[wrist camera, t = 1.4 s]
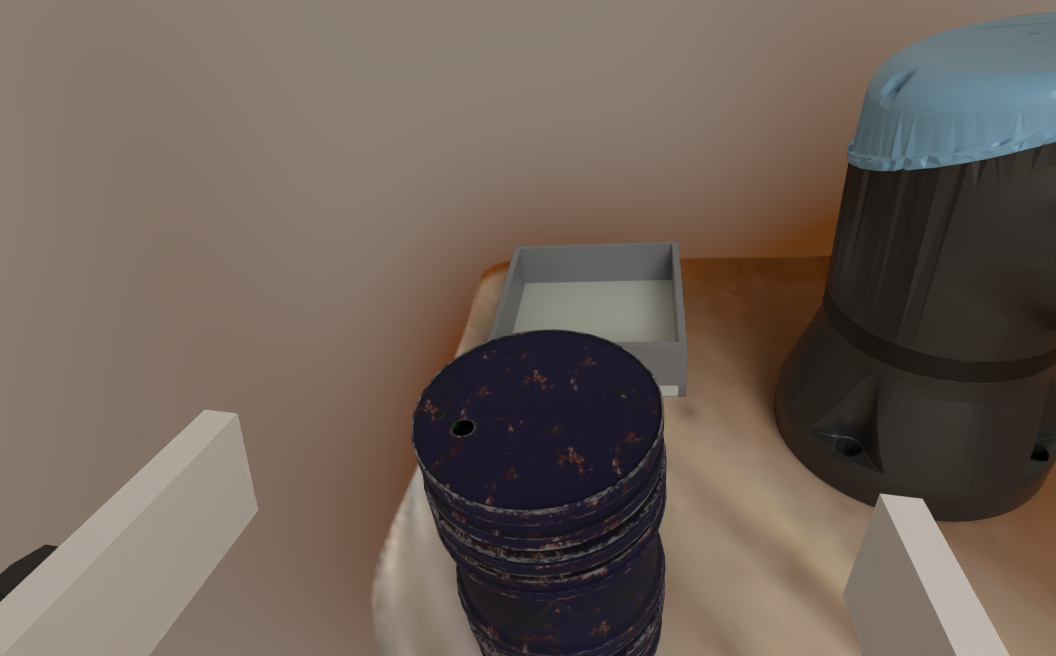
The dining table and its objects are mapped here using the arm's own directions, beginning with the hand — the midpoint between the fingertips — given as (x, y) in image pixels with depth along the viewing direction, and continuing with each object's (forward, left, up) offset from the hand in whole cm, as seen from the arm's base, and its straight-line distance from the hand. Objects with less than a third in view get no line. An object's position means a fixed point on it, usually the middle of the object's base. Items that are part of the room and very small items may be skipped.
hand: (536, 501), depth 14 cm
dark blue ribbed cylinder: (+2, -9, -21) cm, 23 cm away
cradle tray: (+2, -32, -21) cm, 38 cm away
